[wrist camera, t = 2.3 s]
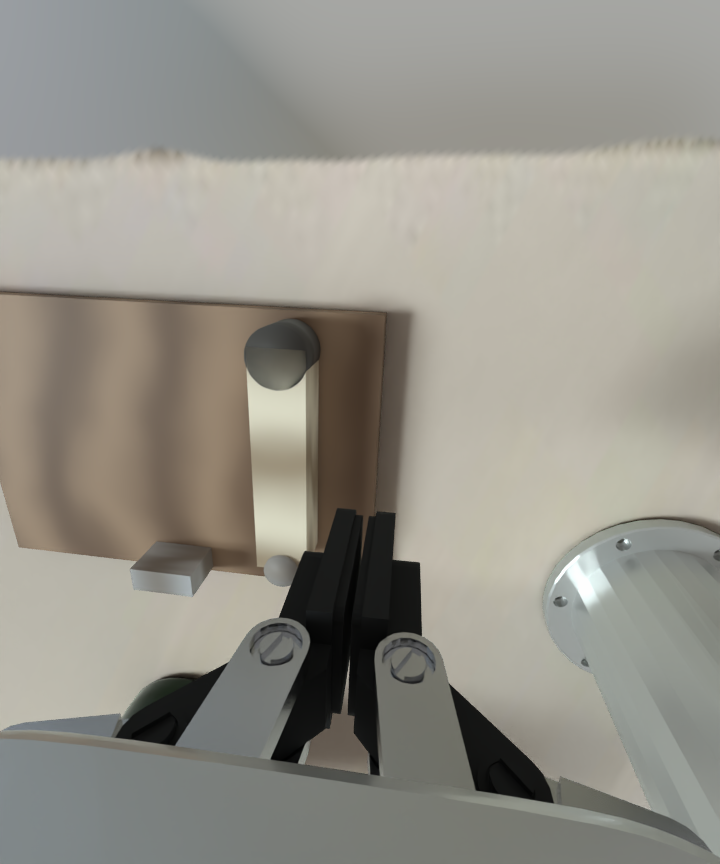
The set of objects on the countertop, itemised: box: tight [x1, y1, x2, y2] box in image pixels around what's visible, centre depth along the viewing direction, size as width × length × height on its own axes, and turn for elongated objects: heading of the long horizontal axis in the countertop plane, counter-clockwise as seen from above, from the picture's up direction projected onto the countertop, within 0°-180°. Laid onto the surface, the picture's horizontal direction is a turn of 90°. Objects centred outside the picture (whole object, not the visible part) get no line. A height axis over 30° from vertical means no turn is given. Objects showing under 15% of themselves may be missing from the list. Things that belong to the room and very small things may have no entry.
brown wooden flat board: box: [0, 292, 387, 597], centre depth 27 cm, size 26×18×4 cm
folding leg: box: [244, 319, 321, 587], centre depth 25 cm, size 15×3×3 cm, turn 178°
